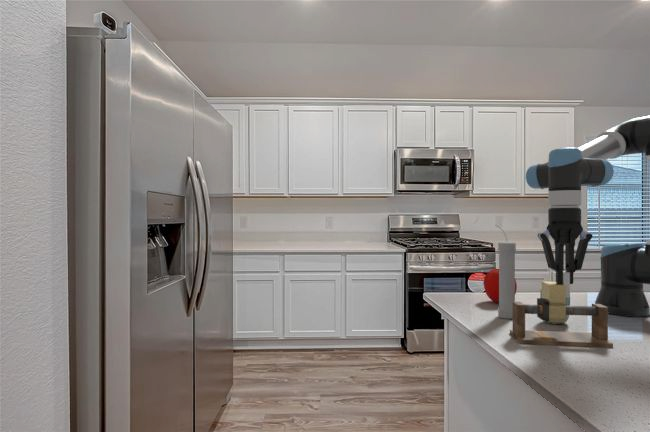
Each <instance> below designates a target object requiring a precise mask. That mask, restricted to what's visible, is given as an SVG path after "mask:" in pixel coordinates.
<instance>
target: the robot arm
mask: <svg viewBox="0 0 650 432" xmlns="http://www.w3.org/2000/svg"><path fill="white" fill-rule="evenodd" d="M634 154H636V155H637V154H644V155H645V156H644V157H645V158H646V159H647V160H648V161H649V162H650V115H647V116H641V117H640V116H639V117H635V118H632V119H629V120H626V121H623V122H622V123H619V124H617V125H615V126H613V127H610V128H608V129H606V130H604V131H602V132H601V133H599V134H598V135H597V136H596V138H595V139H593V140H591V141H588V142H586V143H585V144H583V145H581V146H578V147H560V148H556V149H555V148H554V149H552V150H551V151H549V154H548V161H546V162H545V163H537V164H534V165H531V166H529V167H528V168H527V170H526V173H525V180H526V181H525V182H526V183H527V185H528V186H529V187H530V188H531V189H536V190H537V189H539V190H540V189H541V190H545V189H547V190H548V191H547V192H548V197H547V198H548V202H547V203H548V206H549V207H550V208H549V209H548V212H547V213H548V216H547V218H548V219H547V220H548V224H547V226H546V229H545V230H544V231H543V232H539V233H538V234H537V237H538V239H539V240H540V241H541V244H542V249H543V253H544V256H545V257H544V258H545V260H546V264H547V268H548V269H551V270H554V271H555V282H556V283H558V284H564V285H566V297H570V298H571V291H570V289H571V285H573V284H574V274H575V272H576V271H579V270H582V268H583V265H584V262H585V261H584V260H585V257H586V253H587V250H588V245H589V242H590V241H591V239H593V234H592V233H588V232H586V231H585V230H584V227H583V226H582V208H580V206H582V187H588V186H589V187H598V186H599V187H600V186H601V187H602V186H604V185H607V184H608V183H609V182H611V180H612V178H613V177H614V170H615V169H614V166H613V165H612V163H611V162H610V161H608V159H609V160H612V159H613V160H614V159H617V158H619V157H622V156H628V155H634ZM550 237H551V238H552V239H553V241H554V243H553V244H554V253H553V249H552V244H551V242H550ZM578 238H579V241H578V243H577V244H578V245H577V248H576V251H575V246H576V240H577V239H578ZM644 245H645V246H644ZM600 251H601V252H600V289H599V290H598V292H597V293H598V294H597V296H596V298H595V302H594V304H601V305H603V306H606V307H608V315H609V314H610V315H616V316H626V317H647V316H650V305H649V301H648V300H647V297H646V294H645V292H644V285H650V239H648V240H647V241H646V242H645V244H643V243H641V242H640V243H639V242H636V243H622V244H621V243H620V244H607V245H603V246H602V247H601V250H600ZM564 252H565V253H564ZM564 256H565V257H564ZM564 261H565V262H564ZM564 264H565V266H564ZM564 268H565V270H564Z"/></svg>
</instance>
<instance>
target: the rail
mask: <svg viewBox="0 0 650 432" xmlns="http://www.w3.org/2000/svg"><path fill="white" fill-rule="evenodd" d="M526 314H527V315H528V314H529V315H537V314H543V305H537V304H524V303H523V302H521V301H515V302H513V319H512V329H509V335H511V336H512V337H513V338H514V339H515V341H517V342H518V343H519V344H520V345H521V344H522V345H544V346H545V345H546V346H566V347H567V346H570V347H572V346H573V347H589V346H591V347H592V348H593V347H595V348H596V347H598V348H614V343H613V342H611V341H610V340H609V313H608V307H606V306H603V305H601V304H595V303H591V306H590V305H589V306H588V305H570V306H566V315H569V316H591V332H579V331H577V332H576V331H554V330H553V331H551V330H550V331H549V330H526Z"/></svg>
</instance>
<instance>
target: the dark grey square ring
mask: <svg viewBox="0 0 650 432" xmlns="http://www.w3.org/2000/svg"><path fill="white" fill-rule="evenodd" d="M536 305H543V314H536V317H537V318H538V319H540V320H541V321H543V322H546V321H549V302H548V301H546V300H544V299H542V298H540V297H539V298H536Z"/></svg>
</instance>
